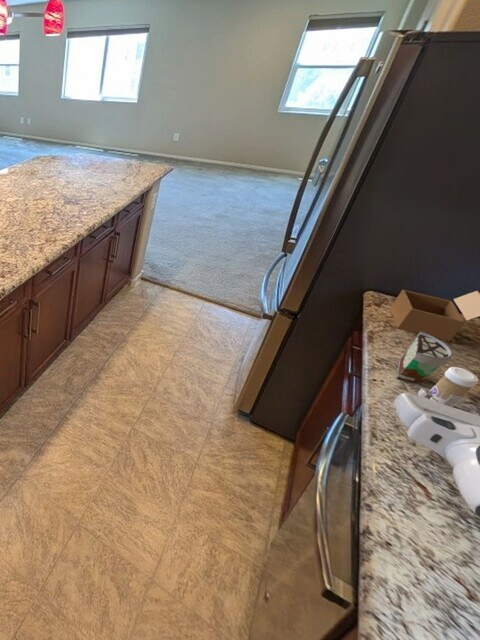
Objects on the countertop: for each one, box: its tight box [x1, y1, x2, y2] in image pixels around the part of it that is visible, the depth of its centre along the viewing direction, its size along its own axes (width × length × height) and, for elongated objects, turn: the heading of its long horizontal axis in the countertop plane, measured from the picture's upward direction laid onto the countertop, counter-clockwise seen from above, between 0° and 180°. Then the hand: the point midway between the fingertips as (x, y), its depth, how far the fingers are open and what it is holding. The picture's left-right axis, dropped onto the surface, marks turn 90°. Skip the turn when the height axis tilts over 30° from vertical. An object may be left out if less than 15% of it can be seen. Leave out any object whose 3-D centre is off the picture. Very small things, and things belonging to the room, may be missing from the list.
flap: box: [453, 290, 480, 322], centre depth 111 cm, size 5×12×1 cm
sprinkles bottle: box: [429, 366, 480, 408], centre depth 89 cm, size 5×5×13 cm
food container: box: [396, 332, 452, 384], centre depth 100 cm, size 12×6×10 cm, turn 132°
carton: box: [389, 289, 466, 343], centre depth 118 cm, size 11×12×8 cm
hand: (453, 401), depth 86 cm, fingers open, 8 cm apart
